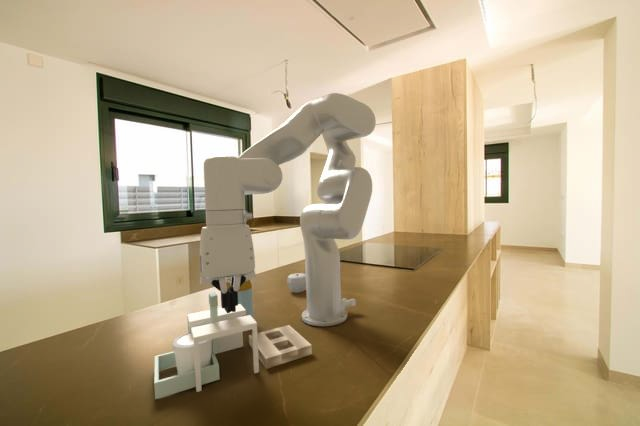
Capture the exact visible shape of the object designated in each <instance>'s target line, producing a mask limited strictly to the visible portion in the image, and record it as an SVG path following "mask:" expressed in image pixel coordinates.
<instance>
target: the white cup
mask: <svg viewBox="0 0 640 426" xmlns="http://www.w3.org/2000/svg"><path fill="white" fill-rule="evenodd" d="M172 346H173V351H174V353H175V359H176V366H175V367H176V371H177V375H179V374H182V373H186V372H189V371H193V370H195V360H194V341H193V338H192V334H191V332H189V333H188V332H186V333H184V334H180V335H179V336H177V337H176V338H175V339H174V340H173V341H172ZM199 349H200V368H203V367H207V366H210V365H211V353H212V339H210V340H206V341H202V342H199Z"/></svg>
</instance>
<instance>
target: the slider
mask: <svg viewBox="0 0 640 426" xmlns="http://www.w3.org/2000/svg"><path fill="white" fill-rule="evenodd" d="M218 303H219V301H218V295H217V293H216V292H215V291H213V292H208V304H209V310H210V320H211V323H215V322H218V311H217V308H218V306H219V304H218ZM216 353H217V354H220V353H219V338H214V339H212V353H211V365H210V366H207V367H203V368H200V370H201V386H203V385H207V384H210V383H213V382H215V381H218V380H220V364H219V362H218V358H217V357H216ZM172 367H177V366H176V359H175V353H174V350H173V351H170V352H165V353H161V354H158V355H154V372H153V373H154V377H153V379H154V381H153V385H154V388H153V389H154V400H157V399H161V398H164V397H167V396H171V395H174V394H176V393H180V392H183V391H187V390H190V389H194V388H196V379H195V370H193V371H189V372H186V373H182V374H179V375H178V374H176V375H172V376H170V377H165V378H162V379H160V370H165V369H168V368H172Z"/></svg>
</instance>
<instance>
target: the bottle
mask: <svg viewBox="0 0 640 426" xmlns="http://www.w3.org/2000/svg"><path fill="white" fill-rule="evenodd" d="M225 280H226V285H227V288H228V290H229V289H230V285H231V277H225ZM252 287H253V285H252V282H251V279H249V280H246V281H245V282H244V283H243V284H242V285H241V287H240V289H239V290H238V304H241V305H242V306H243V307H244V309H245V310H246V315H243V316H247V315H251V317H252V318H253V319H254V309H253V308H254V306H253V288H252ZM243 316H242V317H243Z"/></svg>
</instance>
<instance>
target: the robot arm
mask: <svg viewBox="0 0 640 426" xmlns="http://www.w3.org/2000/svg"><path fill="white" fill-rule="evenodd" d="M375 127H376V116H375V113H374V111H373V110H372V108H370V106H369V105H367V104H366V103H364V102H362V101H359V100H357V99H355V98H352V97H351V96H348V95H346V94H342V93H340V92H339V93H338V92H332V93H328V94H326V95H322V96H320V97H318V98H317V97H316V98H314V99H311V100H309V101H307V102H305V103H304V104H303V105H302V106H301V107H299V108H298V109H297V110H296V111H295V112H294V113H293V114H292V115H291V116H290V117H288V119H287V120H285V122H284V123H282V124H281V125H280V126H279V127H278V128H276V129H274V130H273V131H271V132H270V133H269V134H267V135H265V137H263V138H261V139H260V140H258V141H257V142H255V143H254V144H253V145H251V146H250V147H249V148H247V149H246V150H245V151H243V152H242V153H241V154H239V156H233V155H212V156H209V157H207V158H206V159H205V160H204V162H203V180H204V181H203V182H204V183H203V184H204V203H205V204H204V206H205V224H206V226H203V227H201V231H200V236H199V237H200V239H199V271H200V278H199V283H200V285H201V286H205V287H214V288H215V289H217V291H220V306H221V308H224V309H225V311H226V312H227V313H230V312H231V311H232V312H236V306H238V290H239V289H240V287H241V285H242V284H243V283H244V282H245V281H246V280H249V279H250V280H251V279H253V278H255V277H256V275H257V274H256V272H255V269H256V268H255V267H256V263H255V262H256V261H255V250H254V243H253V237H252V232H251V229H250V225H249V224H247V221H248V220H252V219H253V217H254V216H253V213H252V212H248V211H247V209H246V198H245V196H247V195H249V196H250V195H262V194H270V193H272V192H273V191H276V190H277V189H278V188H279V187H280V186H281V184H282V181H283V172H282V169H281V167H280V166H281V165H283V164H285V163H287V162H290V161H292V160H295V159H297V158H298V157H300V156H302V155H303V154H304V153H305V152H307V151H308V149H309V148H310V147H311V146H312V144H314V142H315V141H316V140H317V139H318V138H319V137H320V136H322V138H323V140H324V143H325V147H326V150H327V158H326V161H325V165H324V167H323V170H322V173H321V176H320V177H319V181H318V184H317V188H316V191H317V196H318V198H319V200H321V201H323V202H316V203H311V204H309V205H307V206H305V207H304V208H303V210H302V211H301V213H300V217H299V224H300V225H299V226H300V230H301V234H302V238H303V247H304V260H305V261H304V262H305V263H304V265H305V274H306V288H305V290H306V295H305V296H306V309H305V310H304V311H302V313H301V320H302V321H303V323H305V324H307V325H310V326H314V327H331V326H332V327H333V326H336V325H340V324H342V323H344V322H345V321H346V320H347V319H348V312H347V310H346V309H347V308H348V307H354V306H357V305H356V304H357V301H356V299H355V298H350V299H348V298H346V297H343V298H342V289H341V288H342V286H341V284H342V283H341V256H340V255H341V253H340V250H339V247H338V244H337V243H336V240H352V239H355V238H356V237H357V236H358V235H359V234H360V233H361V230H362V228H363V226H364V222H365V220H366V219H365V218H366V215H367V211H368V208H369V205H370V201H371V198H372V195H373V181H372V179H373V178H372V176H371V174H370V173H369V171H368V170H367V169H366V168H363V167H360V166H356V163H357V160H356V158H357V157H356V155H355V153H354V152H353V150H352V149H351V148H350V146H349V144H348V142H347V141H350V140H356V139H359V138H363V137H364V138H365V137H367V136H370V135H371V134H372V133H373V132H374V131H375ZM226 277H231V285H230V289H229V290H228V288H227V285H226Z"/></svg>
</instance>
